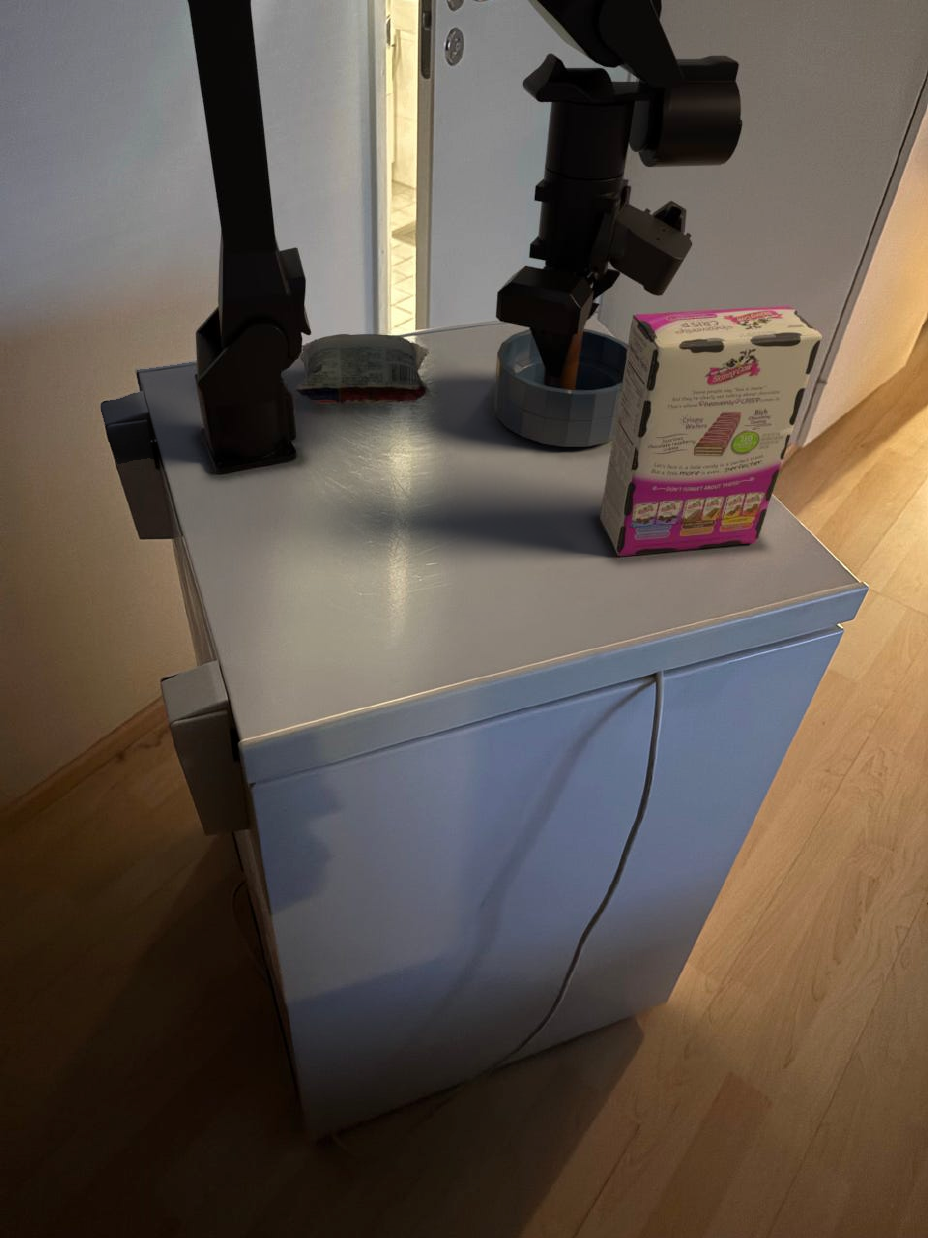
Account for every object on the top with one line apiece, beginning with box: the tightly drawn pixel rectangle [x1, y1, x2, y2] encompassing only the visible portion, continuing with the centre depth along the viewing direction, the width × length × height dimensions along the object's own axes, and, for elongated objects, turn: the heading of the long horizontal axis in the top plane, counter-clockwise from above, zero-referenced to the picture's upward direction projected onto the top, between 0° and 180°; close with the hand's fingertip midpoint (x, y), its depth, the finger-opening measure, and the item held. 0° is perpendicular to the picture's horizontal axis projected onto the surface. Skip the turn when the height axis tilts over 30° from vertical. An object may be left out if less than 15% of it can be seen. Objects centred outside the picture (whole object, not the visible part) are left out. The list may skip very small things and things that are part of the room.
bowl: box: [492, 328, 628, 448], centre depth 77 cm, size 12×12×6 cm
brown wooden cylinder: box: [542, 325, 585, 390], centre depth 74 cm, size 3×3×9 cm
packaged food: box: [294, 333, 434, 405], centre depth 79 cm, size 9×12×5 cm
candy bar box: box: [599, 305, 823, 557], centre depth 61 cm, size 11×5×16 cm, turn 101°
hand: (559, 368), depth 75 cm, fingers closed on brown wooden cylinder, 3 cm apart
